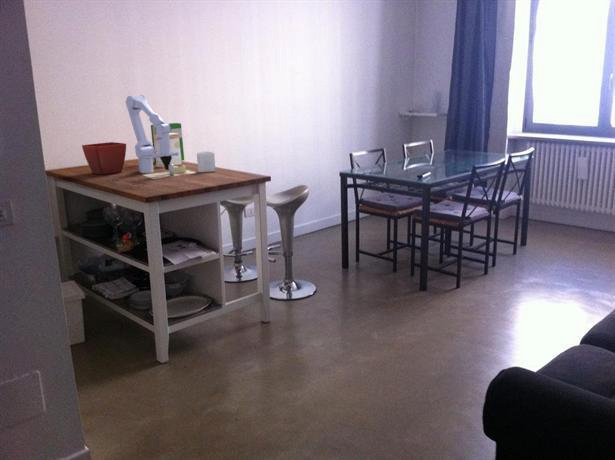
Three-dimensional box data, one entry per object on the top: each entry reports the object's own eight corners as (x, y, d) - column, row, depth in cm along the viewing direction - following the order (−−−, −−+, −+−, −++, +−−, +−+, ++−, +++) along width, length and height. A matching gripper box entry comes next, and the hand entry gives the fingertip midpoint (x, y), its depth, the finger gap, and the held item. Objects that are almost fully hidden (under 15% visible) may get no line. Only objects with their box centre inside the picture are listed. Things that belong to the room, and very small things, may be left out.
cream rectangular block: (169, 172, 341) (169, 166, 340) (183, 171, 345) (182, 164, 344) (173, 173, 337) (172, 167, 336) (186, 172, 341) (185, 165, 340)
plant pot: (114, 169, 369) (111, 141, 364) (130, 172, 355) (126, 143, 351) (84, 173, 356) (81, 145, 351) (99, 176, 342) (95, 147, 338)
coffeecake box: (174, 163, 383) (171, 132, 378) (182, 164, 379) (179, 132, 374) (156, 167, 371) (152, 135, 366) (163, 167, 367) (160, 135, 362)
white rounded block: (213, 170, 348) (211, 149, 345) (216, 171, 345) (215, 149, 342) (197, 172, 343) (195, 151, 339) (200, 173, 339) (198, 151, 336)
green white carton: (158, 163, 385) (155, 125, 379) (154, 162, 391) (150, 125, 385) (184, 160, 395) (181, 123, 389) (179, 159, 401) (176, 122, 395)
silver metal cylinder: (168, 175, 332) (167, 164, 331) (173, 174, 334) (172, 164, 332) (170, 176, 330) (169, 165, 328) (175, 175, 331) (174, 164, 330)
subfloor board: (141, 176, 338) (141, 174, 338) (185, 170, 352) (185, 169, 351) (153, 180, 323) (152, 178, 323) (197, 174, 337) (197, 172, 337)
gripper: (154, 147, 326) (157, 172, 330) (179, 144, 334) (182, 169, 338) (150, 146, 332) (152, 170, 336) (175, 143, 340) (177, 167, 343)
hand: (167, 169), depth 337 cm, fingers closed
